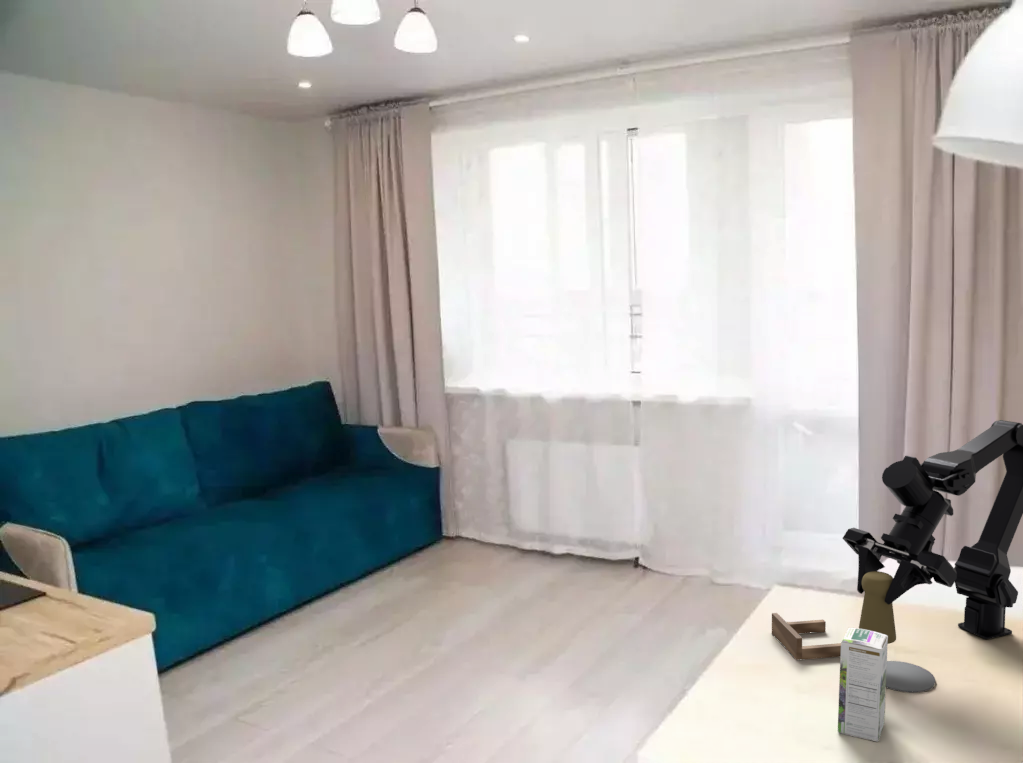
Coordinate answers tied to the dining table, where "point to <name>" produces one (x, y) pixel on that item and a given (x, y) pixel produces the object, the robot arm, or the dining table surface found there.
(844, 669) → the syrup box
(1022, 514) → the robot arm
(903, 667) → the coaster
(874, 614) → the cork
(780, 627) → the holder
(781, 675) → the dining table surface
